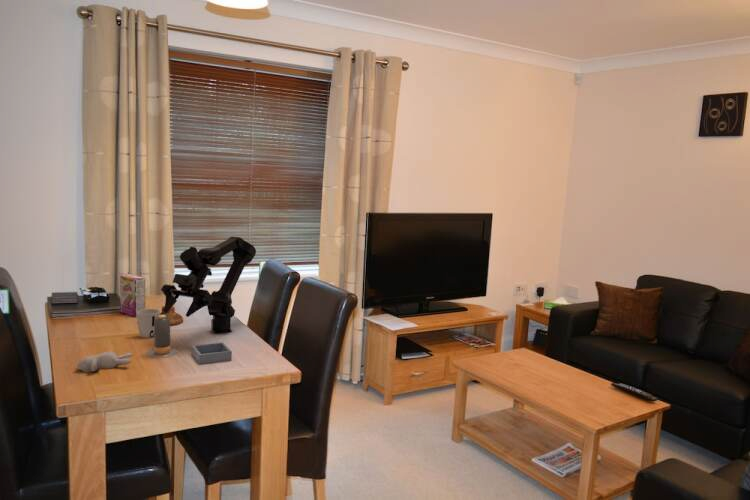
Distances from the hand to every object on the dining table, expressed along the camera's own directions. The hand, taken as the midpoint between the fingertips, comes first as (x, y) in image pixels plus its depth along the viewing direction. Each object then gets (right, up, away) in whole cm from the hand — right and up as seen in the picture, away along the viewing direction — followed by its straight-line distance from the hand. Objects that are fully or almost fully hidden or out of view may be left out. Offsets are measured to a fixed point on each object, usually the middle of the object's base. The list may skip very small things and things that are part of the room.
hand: (175, 314), depth 196 cm
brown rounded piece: (-15, -8, +35) cm, 39 cm away
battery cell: (-3, -12, -5) cm, 14 cm away
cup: (-15, -10, +14) cm, 23 cm away
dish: (+14, -15, -6) cm, 21 cm away
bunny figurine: (-15, -15, -19) cm, 29 cm away
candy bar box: (-34, -5, +44) cm, 56 cm away
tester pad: (-3, -13, -4) cm, 14 cm away
